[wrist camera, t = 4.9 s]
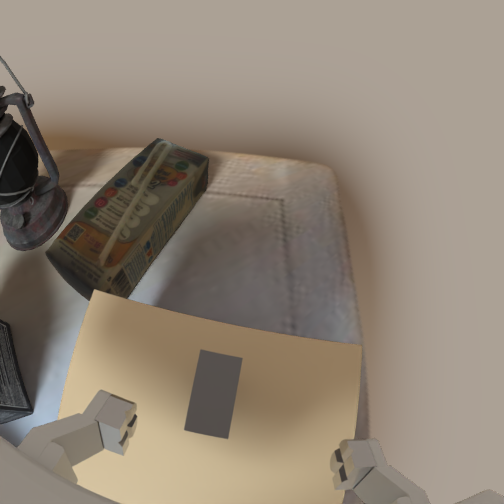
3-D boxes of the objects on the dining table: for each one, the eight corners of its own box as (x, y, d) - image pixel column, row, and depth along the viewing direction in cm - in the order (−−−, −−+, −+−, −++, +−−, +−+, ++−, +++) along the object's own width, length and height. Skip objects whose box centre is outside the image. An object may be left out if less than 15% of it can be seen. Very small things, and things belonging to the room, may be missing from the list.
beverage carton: (211, 191, 35) (213, 151, 30) (116, 322, 25) (93, 298, 20) (160, 170, 36) (155, 130, 30) (64, 283, 26) (37, 253, 21)
